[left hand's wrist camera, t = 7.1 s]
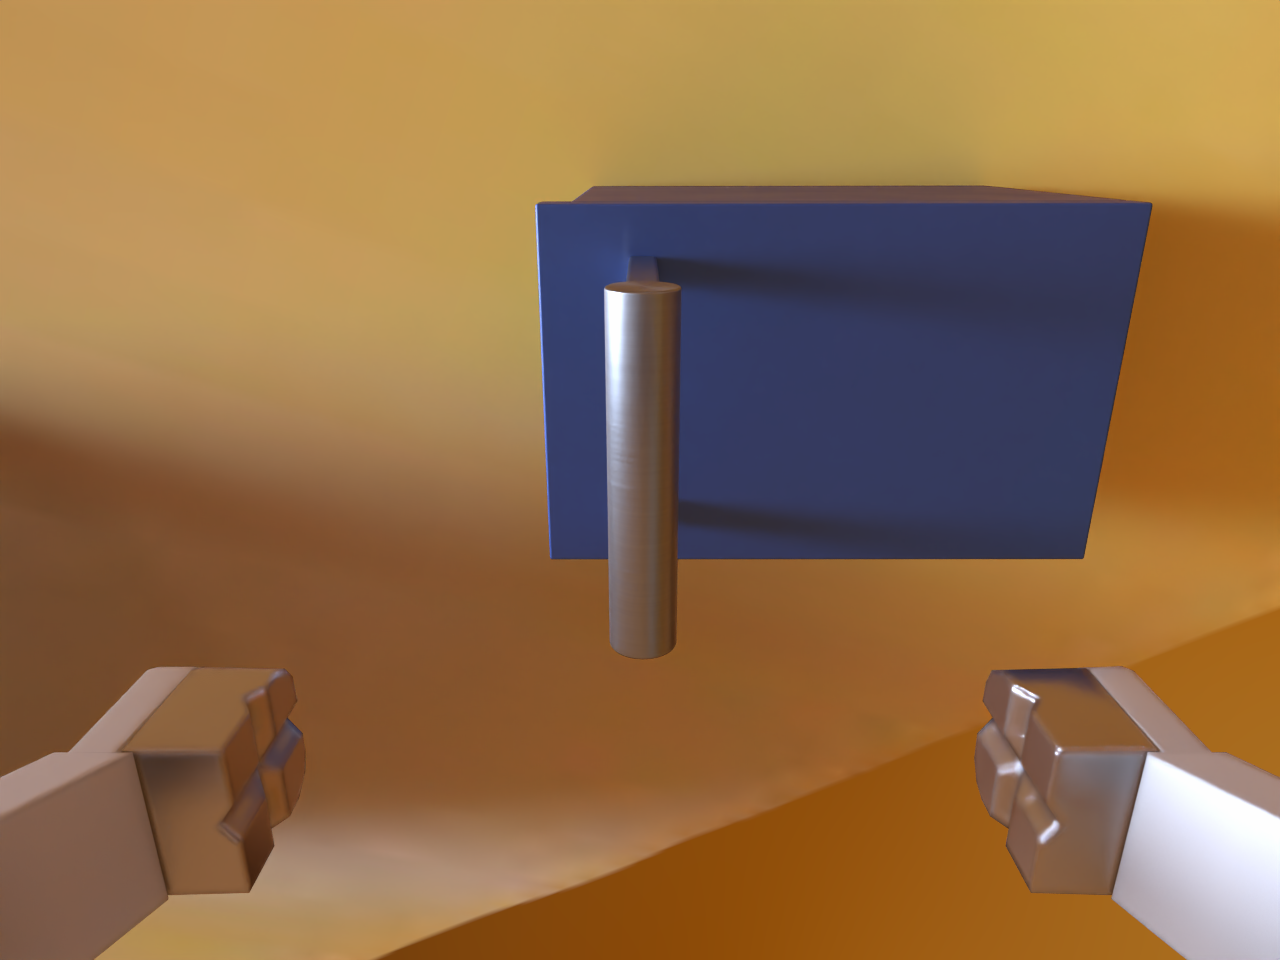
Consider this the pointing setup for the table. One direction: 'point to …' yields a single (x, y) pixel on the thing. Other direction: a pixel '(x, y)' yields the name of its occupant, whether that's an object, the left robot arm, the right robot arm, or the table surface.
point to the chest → (822, 193)
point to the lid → (825, 382)
